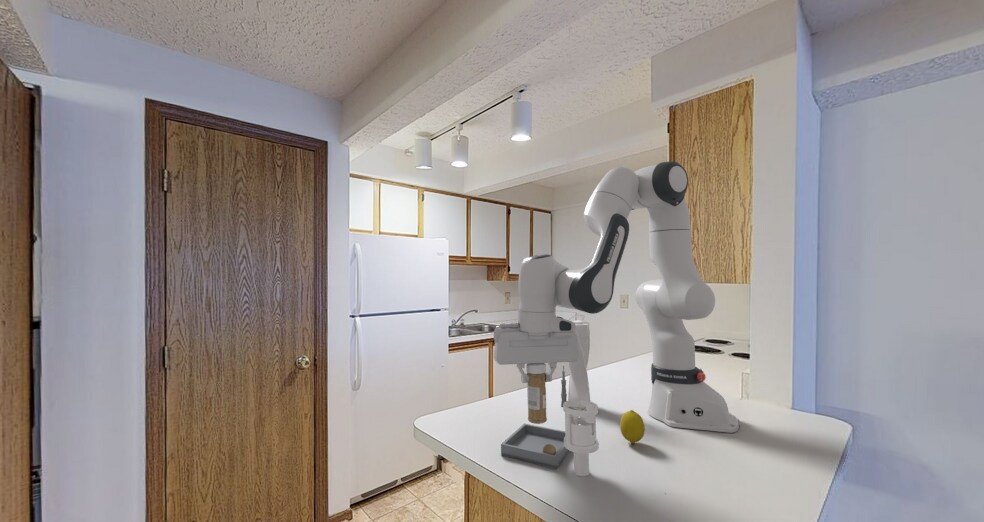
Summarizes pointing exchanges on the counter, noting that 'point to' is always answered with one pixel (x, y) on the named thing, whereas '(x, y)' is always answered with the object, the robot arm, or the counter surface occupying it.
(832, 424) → the counter surface
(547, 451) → the wooden ball
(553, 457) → the tray
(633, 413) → the lemon
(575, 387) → the skyscraper
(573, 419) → the white hollow mechanical part
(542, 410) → the sprinkles bottle
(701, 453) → the counter surface
